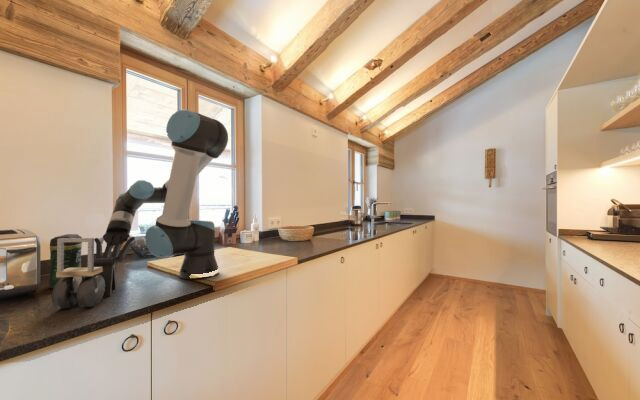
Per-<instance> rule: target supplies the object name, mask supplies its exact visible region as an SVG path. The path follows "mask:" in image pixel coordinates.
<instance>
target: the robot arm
mask: <svg viewBox="0 0 640 400" xmlns="http://www.w3.org/2000/svg"><path fill="white" fill-rule="evenodd" d="M166 123H167V124H166V129H165V130H166V132H165V133H167V134H166V135H167V139H169V140H170V141H171V145H170V146H171V147H172V149H173V150H174V153H173V159H172V164H171V169H170V174H169V178H168V179H167V180H166V182H164V183H163V185H153V184H152V183H151V182H150V181H147V180H146V179H145V180H144V179H139V180H137V181H135V182H134V183H133V184H131V185H130V187H129V188H128V190H127V191H126V192H124V193H121V194H119V195H118V197H117V198H116V200H115V205H114V207H113V210H112V214H111V216H110V219H109V222H108V224H107V225H108V226H107V228H106V230H105V233H104V235H103V236H102V237H100V238H98V237H95V238H94V243H95V246H96V247H95V248H96V249H95V251H96V252H95V255H96V256H95V258H108V257H114V258H115V264H116V263H119V262H120V263H122V262H123V261H124V259H125V257H126V256H127V254H128V252H129V251H130V249H131V247H132V246H133V245H134V244H135V243H136V241H137V240H136V238H135V237H134V236H130V234H131V229H132V225H133V221H134V219H135V214H136V213H137V210H138V209H140V208H141V206H143V205H144V204H164V205H163V208H162V209H163V210H162V214H161V215H160V216H158V217H156V221H155V225H152V226H150V227H148V229H147V230H146V231H145V245H146V247H147V249H148V251H149V252H150V254H152V256H153V257H156V258H166V257H167V258H169V257H173V256H177V255H181V254H184V257H183V261H182V263H181V267H180V269H179V277H180V278H181V279H183V280H191V279H190V277H189V276H190V275H191V274H203V273H209V272H212V271H215V270H217V269H218V268H219V265H218V262H217V260H216V256H215V243H216V242H215V241H216V240H215V239H216V236H215V235H216V230H215V228H216V227H215V223H214V222H213V221H211V220H201V219H200V220H198V219H197V220H196V219H189V215H190V209H191V204H192V200H193V194H194V190H195V185H196V181H197V176H199V174H200V173H201V172H202V171H203V170H204V169H205V168H206V167H207V166H208V165H209V163H211V162H212V160H213V159H218V158H219V157H220V156H222V153H223V152H224V151H225V149H226V148H227V146H228V142H229V134H228V131H227V128H226V127H225V125H224V124H223V123H222V122H221V121H219V120H217V119H215V118H211V117H209V116H206V115H205V114H201V113H198V112H196V111H192V110H188V109H179V110H177V111H175V112H174V113H172V115H171V116H170V117H169V118H168V121H167V122H166ZM104 242H105V243H106V247H105V249H104V252H103V243H104ZM123 244H124V245H123ZM111 253H112V254H111Z"/></svg>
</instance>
